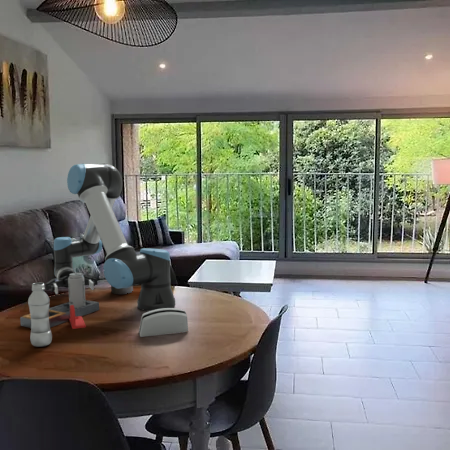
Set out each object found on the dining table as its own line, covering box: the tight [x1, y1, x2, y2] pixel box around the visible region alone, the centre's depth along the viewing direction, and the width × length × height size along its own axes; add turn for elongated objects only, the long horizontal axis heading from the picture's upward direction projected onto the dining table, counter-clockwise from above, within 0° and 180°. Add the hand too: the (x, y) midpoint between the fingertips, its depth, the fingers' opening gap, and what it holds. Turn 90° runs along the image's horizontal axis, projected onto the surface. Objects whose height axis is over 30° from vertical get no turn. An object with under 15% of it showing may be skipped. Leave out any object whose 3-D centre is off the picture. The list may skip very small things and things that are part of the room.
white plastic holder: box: [138, 307, 189, 338], centre depth 176 cm, size 17×5×10 cm, turn 107°
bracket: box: [69, 305, 87, 330], centre depth 187 cm, size 12×4×8 cm, turn 22°
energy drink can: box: [67, 272, 86, 308], centre depth 200 cm, size 6×6×15 cm
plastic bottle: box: [27, 282, 53, 348], centre depth 164 cm, size 6×7×20 cm
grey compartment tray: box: [19, 299, 100, 329], centre depth 194 cm, size 11×28×3 cm, turn 150°
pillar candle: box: [110, 285, 134, 295], centre depth 231 cm, size 10×10×15 cm
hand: (75, 288), depth 202 cm, fingers open, 13 cm apart
